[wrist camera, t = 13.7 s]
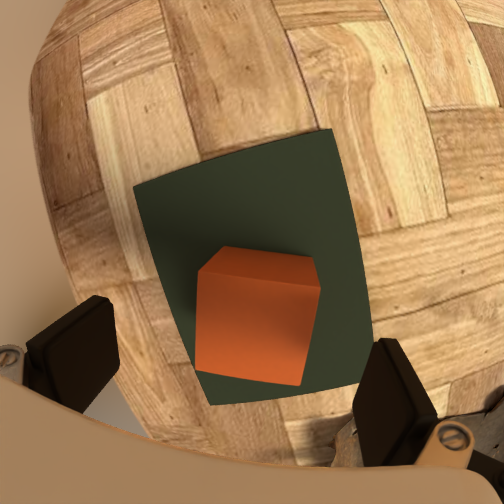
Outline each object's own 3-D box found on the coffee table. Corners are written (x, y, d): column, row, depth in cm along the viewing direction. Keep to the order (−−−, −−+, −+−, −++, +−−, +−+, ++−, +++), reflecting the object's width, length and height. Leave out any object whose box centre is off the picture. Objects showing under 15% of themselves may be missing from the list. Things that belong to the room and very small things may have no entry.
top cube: (217, 324, 18) (194, 370, 13) (223, 245, 17) (197, 270, 12) (298, 336, 18) (300, 386, 13) (312, 256, 17) (321, 287, 12)
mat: (136, 186, 18) (132, 187, 17) (330, 129, 15) (331, 127, 15) (211, 400, 21) (209, 405, 20) (375, 373, 18) (376, 378, 18)
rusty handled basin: (504, 466, 20) (527, 513, 10) (302, 518, 24) (298, 584, 14) (563, 342, 16) (616, 390, 6) (297, 412, 20) (293, 527, 10)
